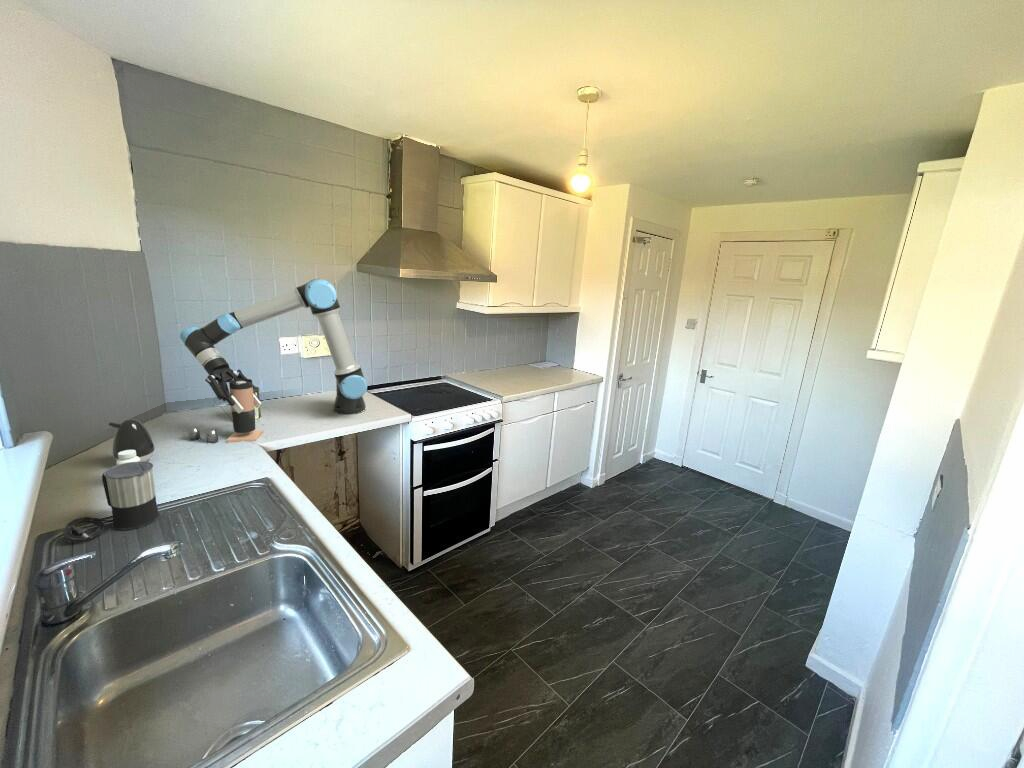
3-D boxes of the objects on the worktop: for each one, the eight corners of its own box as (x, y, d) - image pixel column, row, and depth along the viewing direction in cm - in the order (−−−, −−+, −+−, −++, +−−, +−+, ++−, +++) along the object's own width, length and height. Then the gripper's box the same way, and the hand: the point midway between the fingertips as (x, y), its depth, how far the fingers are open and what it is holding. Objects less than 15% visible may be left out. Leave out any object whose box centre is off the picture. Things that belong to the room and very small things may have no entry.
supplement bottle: (148, 478, 128) (143, 449, 126) (130, 486, 123) (125, 456, 120) (133, 476, 129) (128, 447, 126) (114, 484, 123) (109, 454, 121)
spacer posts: (254, 424, 177) (253, 413, 176) (236, 442, 158) (235, 430, 157) (207, 425, 172) (205, 414, 171) (183, 444, 153) (181, 431, 152)
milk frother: (169, 512, 112) (162, 462, 108) (113, 548, 96) (103, 491, 93) (117, 508, 112) (109, 458, 108) (53, 544, 96) (41, 486, 93)
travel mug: (249, 425, 168) (245, 377, 163) (260, 429, 164) (256, 381, 160) (229, 430, 162) (224, 380, 157) (239, 434, 158) (235, 384, 153)
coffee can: (245, 414, 188) (242, 384, 185) (266, 417, 187) (264, 387, 184) (228, 421, 178) (225, 390, 175) (250, 424, 177) (247, 392, 174)
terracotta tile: (263, 432, 170) (263, 430, 169) (255, 441, 160) (255, 439, 160) (236, 433, 167) (235, 430, 167) (226, 442, 158) (226, 440, 157)
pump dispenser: (123, 457, 140) (116, 415, 136) (161, 455, 144) (155, 413, 140) (107, 470, 131) (99, 425, 127) (148, 467, 134) (141, 423, 131)
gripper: (231, 364, 171) (266, 406, 171) (182, 373, 151) (221, 421, 151) (241, 352, 168) (276, 396, 168) (191, 360, 149) (231, 409, 149)
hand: (250, 408), depth 160 cm, fingers closed on travel mug, 7 cm apart
